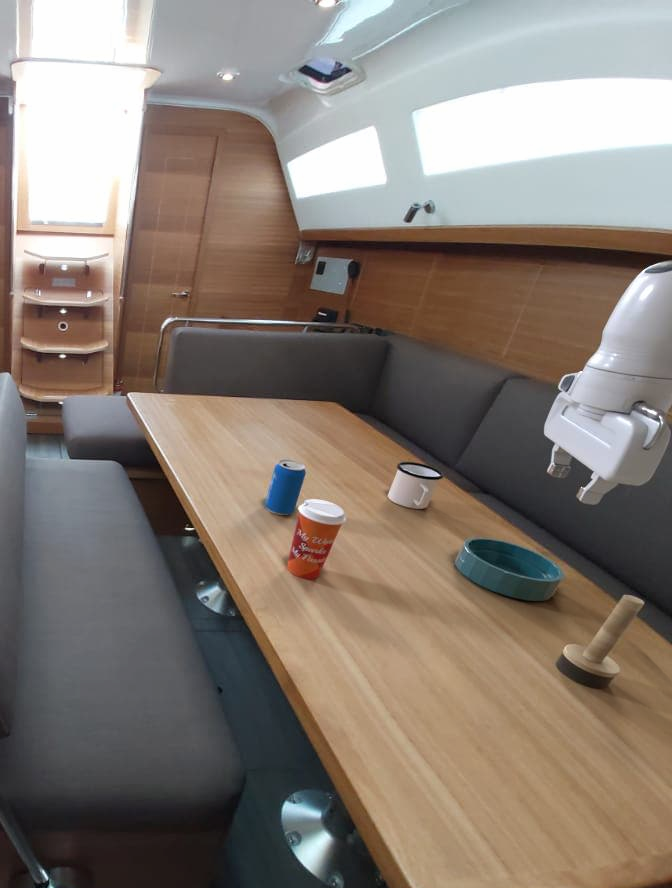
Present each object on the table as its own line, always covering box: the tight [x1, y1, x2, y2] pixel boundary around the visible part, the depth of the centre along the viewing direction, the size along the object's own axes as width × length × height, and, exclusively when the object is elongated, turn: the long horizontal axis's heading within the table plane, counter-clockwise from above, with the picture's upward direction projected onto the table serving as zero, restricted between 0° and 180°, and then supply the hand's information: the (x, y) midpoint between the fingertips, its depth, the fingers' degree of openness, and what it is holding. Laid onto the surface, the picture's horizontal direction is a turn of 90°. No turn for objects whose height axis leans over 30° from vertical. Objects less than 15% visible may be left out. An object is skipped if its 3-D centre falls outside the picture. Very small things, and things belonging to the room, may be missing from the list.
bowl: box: [454, 536, 565, 602], centre depth 95 cm, size 14×14×5 cm
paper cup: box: [286, 498, 347, 580], centre depth 93 cm, size 8×8×14 cm
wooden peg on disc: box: [555, 594, 645, 690], centre depth 72 cm, size 6×6×14 cm
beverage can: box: [264, 459, 307, 516], centre depth 116 cm, size 6×6×12 cm
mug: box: [387, 461, 445, 510], centre depth 122 cm, size 12×10×9 cm
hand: (569, 488), depth 71 cm, fingers open, 8 cm apart
